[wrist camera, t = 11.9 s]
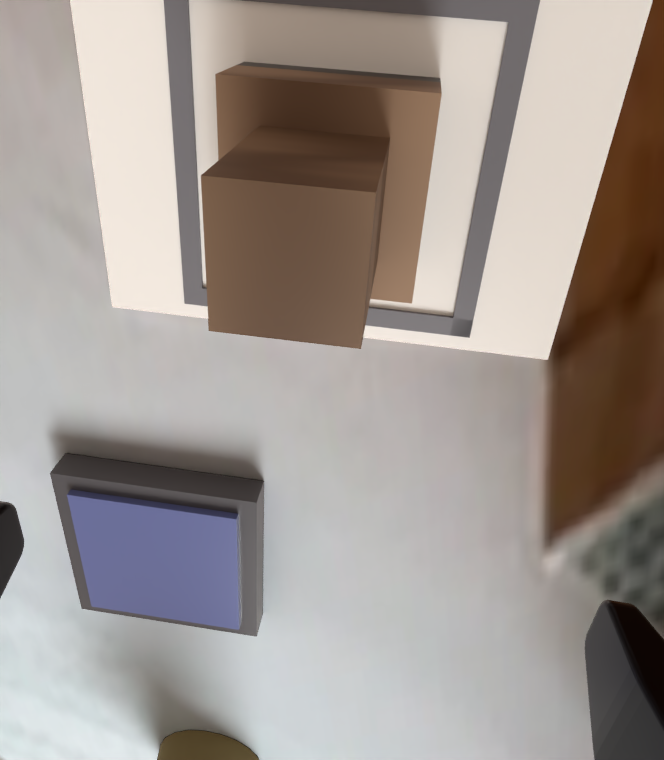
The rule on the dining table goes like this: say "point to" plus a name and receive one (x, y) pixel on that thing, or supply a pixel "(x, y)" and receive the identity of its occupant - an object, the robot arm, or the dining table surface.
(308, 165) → the stamp
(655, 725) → the robot arm
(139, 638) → the dining table surface
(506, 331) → the print card
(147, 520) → the ink pad
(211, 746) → the cork
